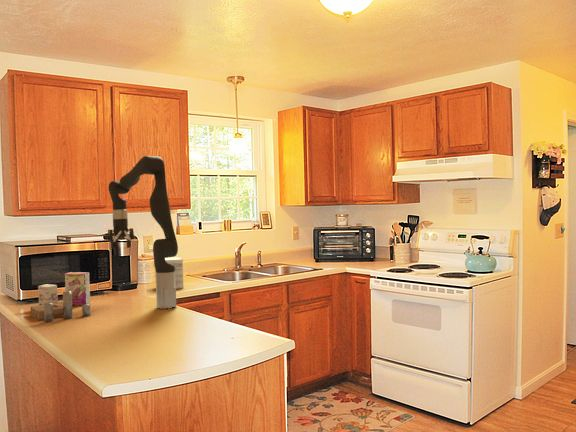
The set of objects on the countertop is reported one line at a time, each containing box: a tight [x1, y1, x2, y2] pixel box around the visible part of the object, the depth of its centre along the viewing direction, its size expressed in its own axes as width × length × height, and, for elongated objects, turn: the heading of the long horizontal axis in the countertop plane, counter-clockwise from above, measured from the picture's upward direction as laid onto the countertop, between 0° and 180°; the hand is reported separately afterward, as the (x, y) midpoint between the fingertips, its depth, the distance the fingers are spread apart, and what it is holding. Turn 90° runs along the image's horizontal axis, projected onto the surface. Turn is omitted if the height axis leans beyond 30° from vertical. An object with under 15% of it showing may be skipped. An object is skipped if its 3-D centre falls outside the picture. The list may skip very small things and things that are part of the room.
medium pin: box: [43, 302, 54, 323], centre depth 222 cm, size 4×4×8 cm
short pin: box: [81, 303, 92, 318], centre depth 232 cm, size 4×4×5 cm
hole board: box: [30, 301, 64, 322], centre depth 235 cm, size 16×14×4 cm
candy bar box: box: [64, 271, 91, 306], centre depth 260 cm, size 11×5×16 cm, turn 84°
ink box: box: [37, 283, 59, 305], centre depth 251 cm, size 9×5×12 cm, turn 62°
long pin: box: [62, 290, 73, 320], centre depth 227 cm, size 4×4×12 cm
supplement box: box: [165, 256, 184, 290], centre depth 307 cm, size 13×13×18 cm
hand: (121, 248), depth 272 cm, fingers open, 8 cm apart
